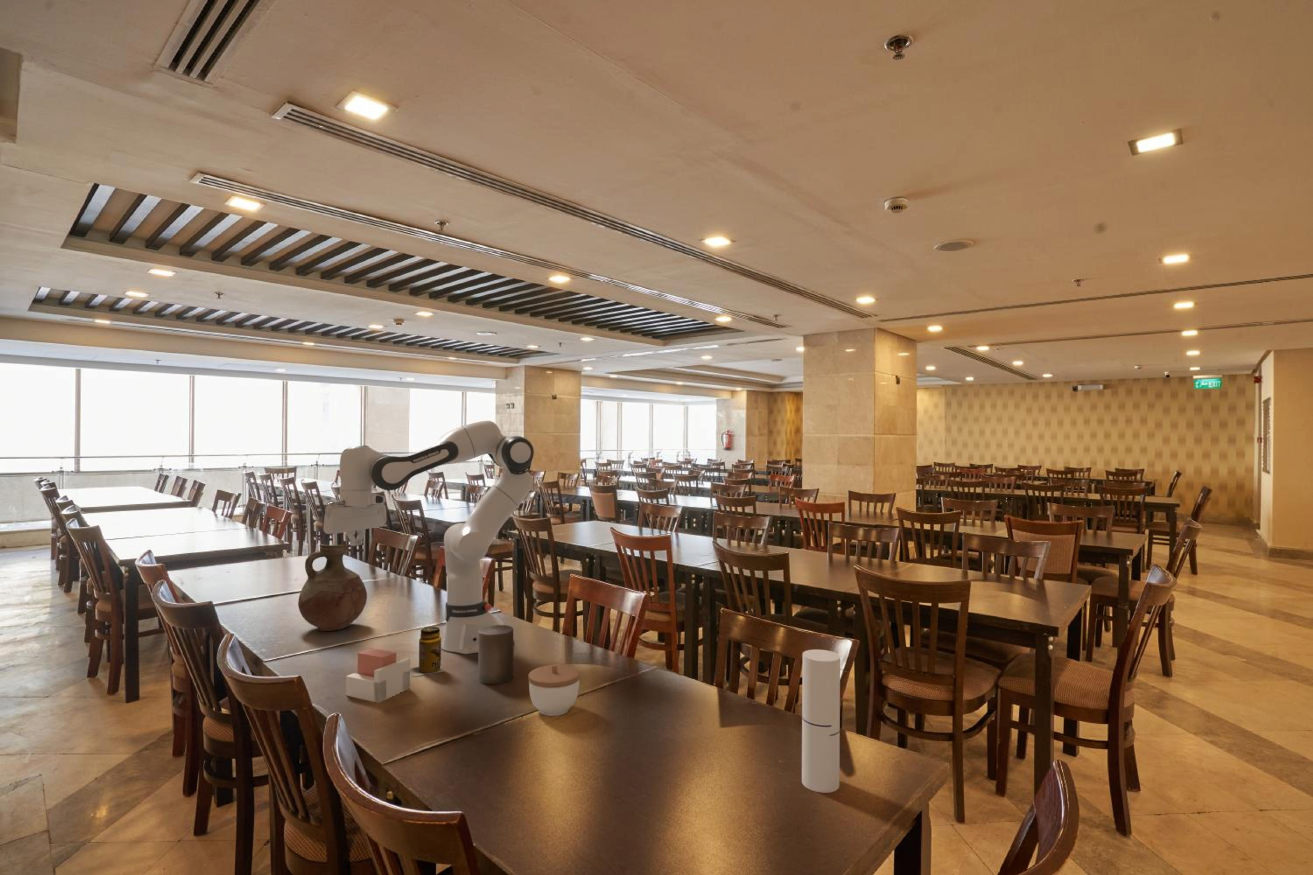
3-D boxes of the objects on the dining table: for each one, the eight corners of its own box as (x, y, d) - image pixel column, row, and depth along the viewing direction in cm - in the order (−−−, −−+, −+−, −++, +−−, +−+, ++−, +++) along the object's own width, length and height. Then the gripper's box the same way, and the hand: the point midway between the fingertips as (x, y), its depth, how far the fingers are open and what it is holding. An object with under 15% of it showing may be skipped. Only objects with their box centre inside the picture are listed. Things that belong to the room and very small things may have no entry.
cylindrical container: (797, 774, 133) (797, 649, 133) (831, 773, 133) (832, 649, 133) (808, 793, 125) (809, 661, 126) (844, 791, 126) (845, 660, 126)
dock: (345, 695, 172) (346, 664, 172) (378, 681, 181) (378, 652, 181) (378, 702, 167) (378, 671, 167) (409, 688, 176) (410, 658, 177)
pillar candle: (520, 678, 185) (520, 624, 185) (490, 687, 178) (490, 631, 178) (500, 670, 192) (500, 618, 192) (470, 678, 184) (471, 624, 185)
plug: (357, 690, 174) (357, 652, 174) (371, 684, 178) (371, 647, 178) (382, 696, 170) (382, 657, 170) (395, 690, 175) (396, 652, 175)
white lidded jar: (588, 703, 167) (588, 660, 167) (565, 723, 155) (565, 677, 155) (543, 697, 171) (544, 654, 171) (518, 716, 159) (518, 670, 160)
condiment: (444, 671, 190) (445, 629, 190) (414, 677, 185) (414, 634, 185) (438, 664, 196) (438, 623, 196) (408, 669, 191) (408, 628, 192)
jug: (379, 626, 235) (380, 542, 235) (320, 641, 217) (321, 550, 217) (343, 617, 247) (344, 537, 247) (285, 630, 229) (286, 544, 229)
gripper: (333, 502, 188) (333, 551, 188) (389, 496, 207) (389, 540, 207) (318, 502, 191) (318, 549, 191) (374, 496, 209) (375, 539, 209)
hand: (356, 545), depth 199 cm, fingers closed
